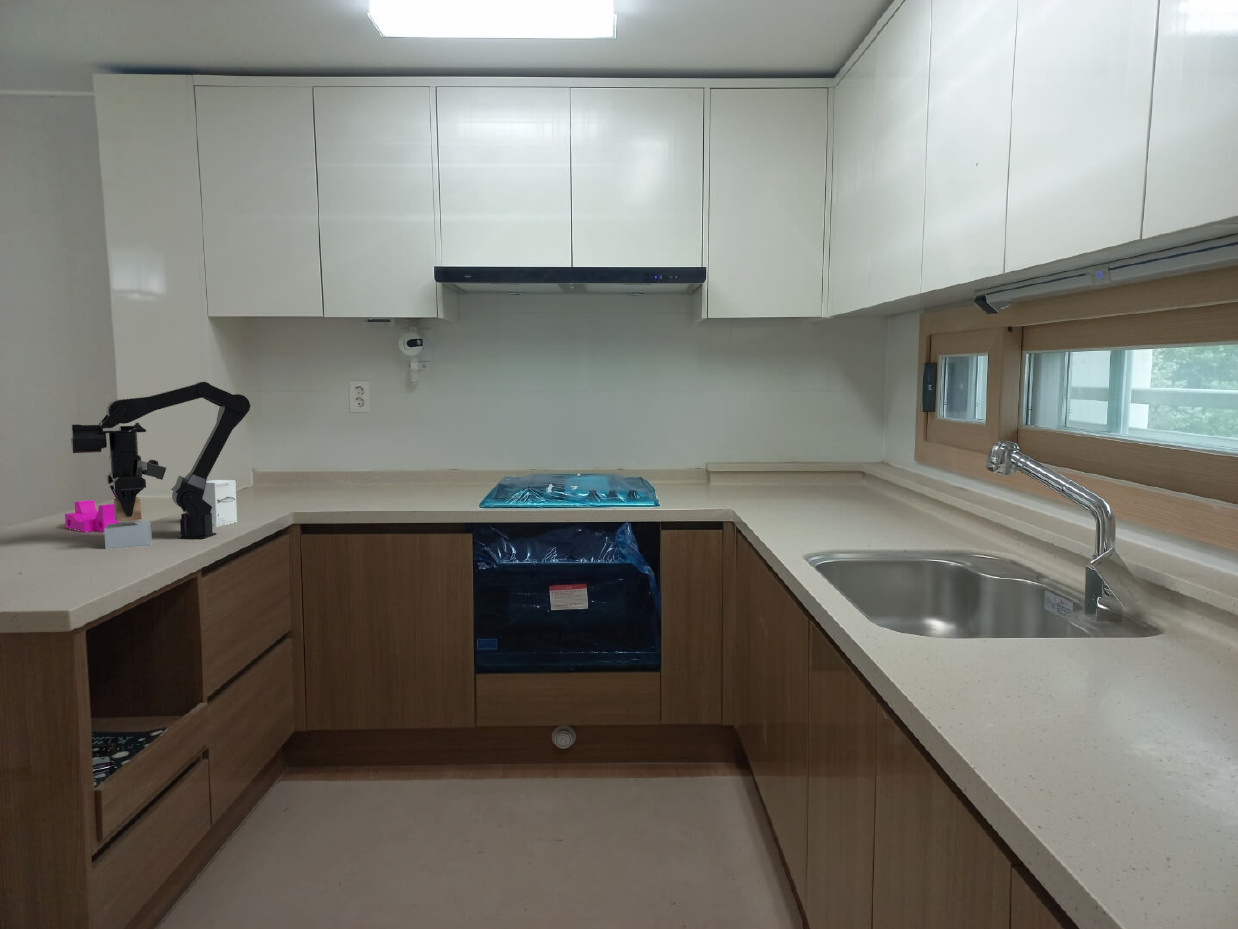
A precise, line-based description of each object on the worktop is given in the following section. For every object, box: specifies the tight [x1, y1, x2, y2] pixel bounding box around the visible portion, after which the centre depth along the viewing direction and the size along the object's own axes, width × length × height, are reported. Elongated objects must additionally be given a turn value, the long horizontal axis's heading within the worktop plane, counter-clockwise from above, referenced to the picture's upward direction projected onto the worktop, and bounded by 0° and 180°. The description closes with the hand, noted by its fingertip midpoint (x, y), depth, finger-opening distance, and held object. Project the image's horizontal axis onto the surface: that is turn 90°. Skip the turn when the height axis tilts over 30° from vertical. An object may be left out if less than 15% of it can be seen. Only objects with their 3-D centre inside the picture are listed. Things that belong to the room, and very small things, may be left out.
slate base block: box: [104, 520, 153, 550], centre depth 185 cm, size 9×9×5 cm
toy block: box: [64, 499, 120, 534], centre depth 204 cm, size 15×6×8 cm, turn 59°
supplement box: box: [202, 479, 238, 528], centre depth 211 cm, size 7×7×13 cm
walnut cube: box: [113, 496, 142, 522], centre depth 185 cm, size 5×5×5 cm
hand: (128, 515), depth 185 cm, fingers closed on walnut cube, 5 cm apart
